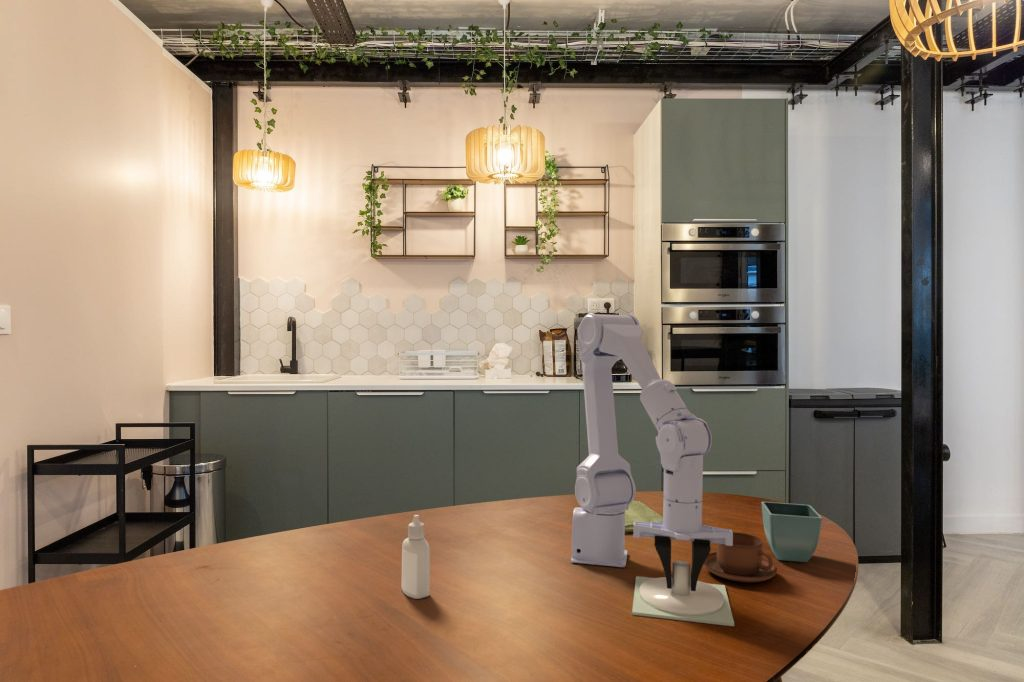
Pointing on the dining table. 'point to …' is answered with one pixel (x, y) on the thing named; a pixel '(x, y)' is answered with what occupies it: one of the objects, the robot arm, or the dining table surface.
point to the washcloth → (639, 515)
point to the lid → (681, 594)
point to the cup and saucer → (741, 560)
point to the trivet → (718, 617)
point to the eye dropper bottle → (416, 562)
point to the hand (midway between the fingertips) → (681, 587)
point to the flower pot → (791, 530)
